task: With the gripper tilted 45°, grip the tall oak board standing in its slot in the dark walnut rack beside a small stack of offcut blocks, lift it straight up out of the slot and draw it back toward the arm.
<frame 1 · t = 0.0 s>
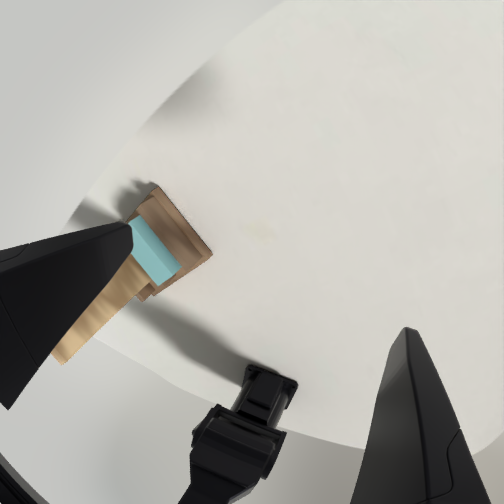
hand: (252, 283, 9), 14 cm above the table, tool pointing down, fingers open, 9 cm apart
oak board: (142, 258, 32), point 1 cm above the table, touching rack
rack: (148, 254, 33), on the table
offcut upper: (153, 247, 28), point 2 cm above the table, touching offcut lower
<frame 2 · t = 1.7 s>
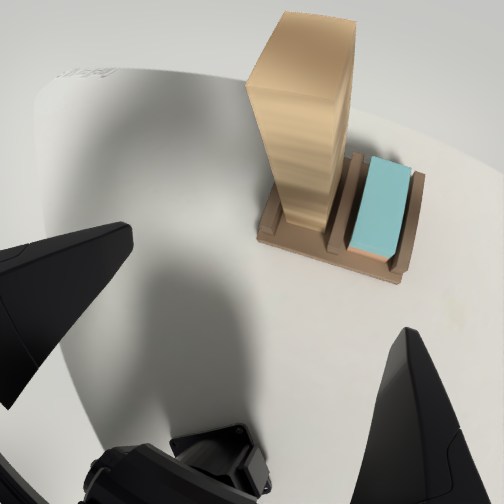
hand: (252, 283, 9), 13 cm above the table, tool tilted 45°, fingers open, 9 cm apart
oak board: (314, 199, 22), point 1 cm above the table, touching rack
rack: (314, 204, 23), on the table
offcut upper: (379, 209, 20), point 2 cm above the table, touching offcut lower
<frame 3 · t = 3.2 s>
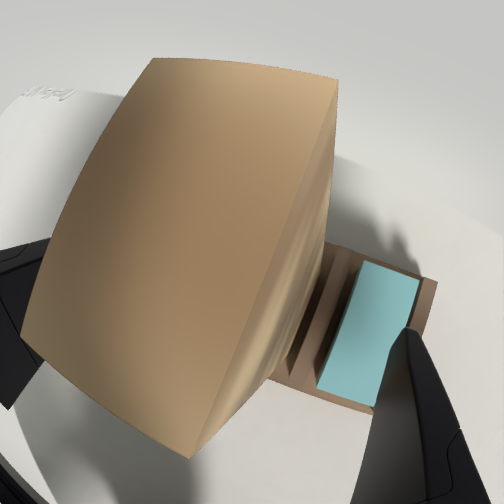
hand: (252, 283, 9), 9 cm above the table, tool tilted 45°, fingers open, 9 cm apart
oak board: (280, 304, 17), point 1 cm above the table, touching rack
rack: (282, 305, 18), on the table
offcut upper: (365, 334, 14), point 2 cm above the table, touching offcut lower
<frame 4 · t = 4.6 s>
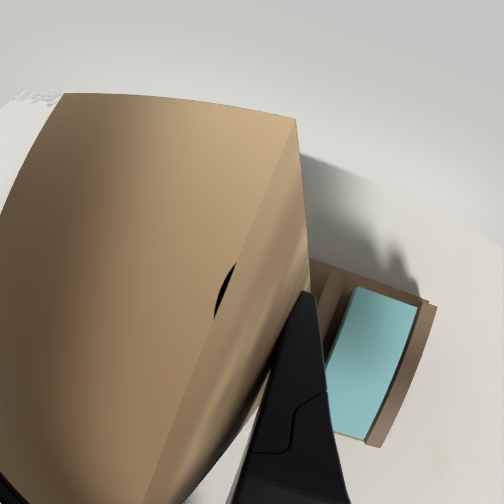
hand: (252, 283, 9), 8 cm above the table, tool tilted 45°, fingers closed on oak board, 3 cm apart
oak board: (268, 327, 16), point 1 cm above the table, touching gripper, rack
rack: (271, 327, 17), on the table
offcut upper: (357, 362, 13), point 2 cm above the table, touching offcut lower
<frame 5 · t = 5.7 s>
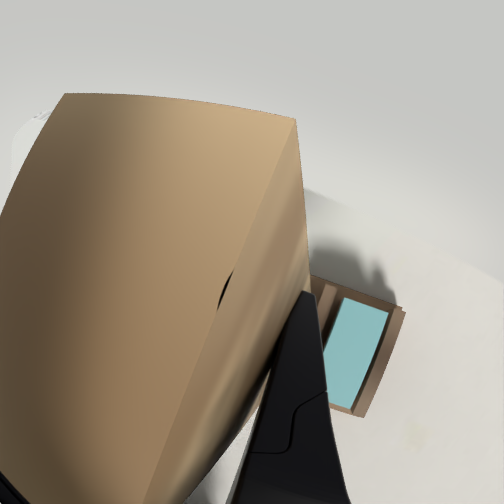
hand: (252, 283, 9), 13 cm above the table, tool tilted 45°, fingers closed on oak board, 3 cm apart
oak board: (268, 327, 16), point 6 cm above the table, touching gripper
rack: (280, 326, 22), on the table
offcut upper: (345, 352, 18), point 2 cm above the table, touching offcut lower
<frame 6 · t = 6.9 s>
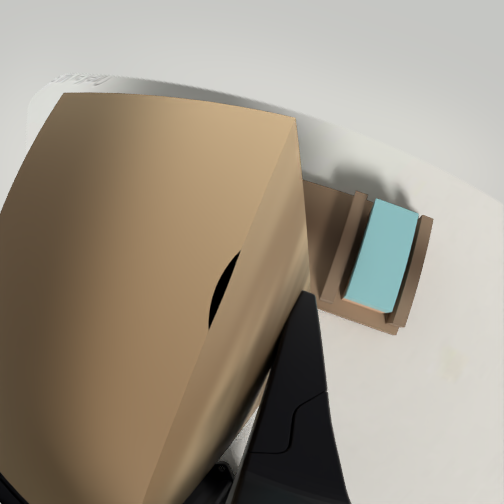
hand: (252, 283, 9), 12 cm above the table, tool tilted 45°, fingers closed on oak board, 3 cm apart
oak board: (268, 327, 16), point 5 cm above the table, touching gripper
rack: (310, 243, 22), on the table
offcut upper: (380, 258, 18), point 2 cm above the table, touching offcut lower
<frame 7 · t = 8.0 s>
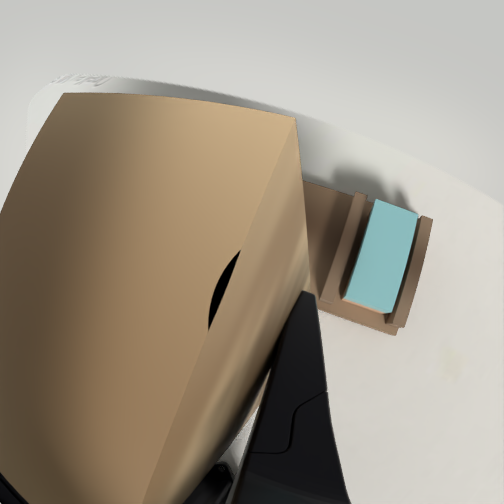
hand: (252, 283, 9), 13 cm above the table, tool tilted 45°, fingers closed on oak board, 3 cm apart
oak board: (268, 327, 16), point 5 cm above the table, touching gripper
rack: (310, 244, 22), on the table
offcut upper: (379, 258, 18), point 2 cm above the table, touching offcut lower
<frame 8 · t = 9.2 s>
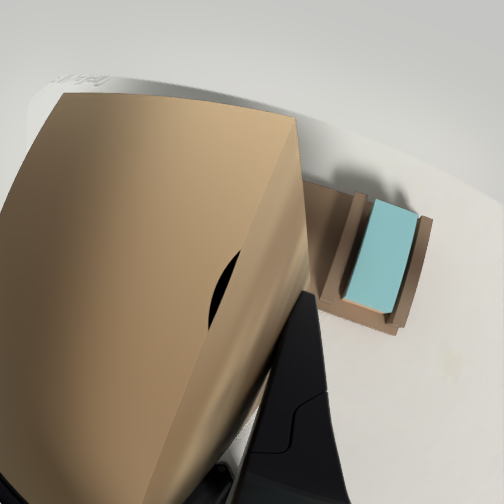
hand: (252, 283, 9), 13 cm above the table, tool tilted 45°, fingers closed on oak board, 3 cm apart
oak board: (268, 327, 16), point 5 cm above the table, touching gripper
rack: (310, 244, 22), on the table
offcut upper: (379, 258, 18), point 2 cm above the table, touching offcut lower
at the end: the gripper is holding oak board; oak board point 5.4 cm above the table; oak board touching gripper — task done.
